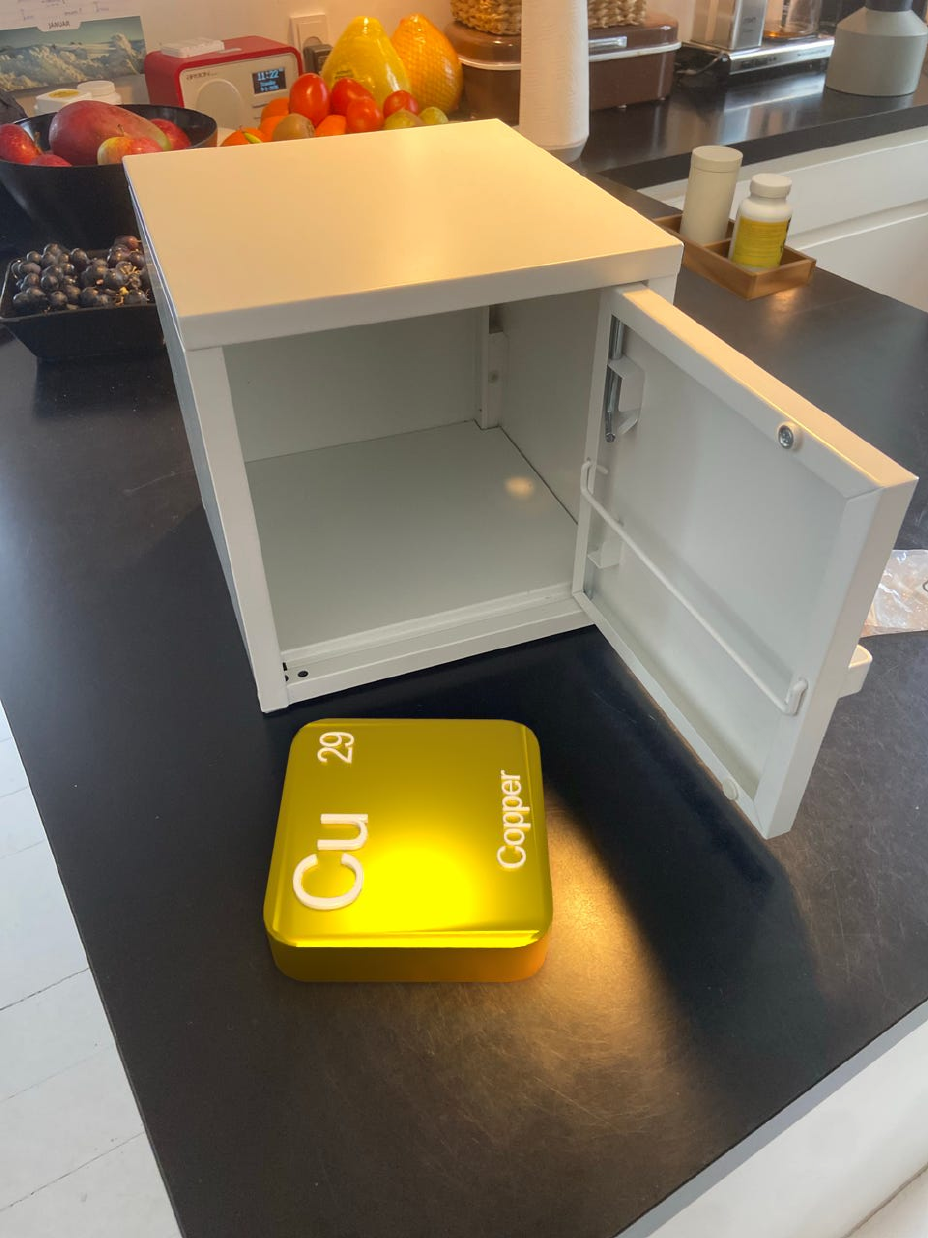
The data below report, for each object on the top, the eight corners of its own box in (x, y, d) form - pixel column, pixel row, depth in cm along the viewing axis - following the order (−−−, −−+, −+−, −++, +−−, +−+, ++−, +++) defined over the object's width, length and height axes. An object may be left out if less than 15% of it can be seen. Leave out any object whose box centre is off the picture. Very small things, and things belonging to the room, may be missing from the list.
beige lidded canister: (702, 237, 125) (720, 142, 117) (732, 253, 121) (753, 156, 113) (666, 245, 123) (682, 149, 115) (696, 261, 119) (715, 163, 111)
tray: (703, 233, 128) (708, 207, 125) (809, 287, 115) (817, 259, 113) (642, 246, 124) (646, 219, 122) (745, 304, 111) (752, 275, 109)
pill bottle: (775, 289, 113) (800, 191, 105) (722, 283, 114) (742, 185, 106) (776, 269, 118) (800, 173, 110) (725, 263, 119) (745, 168, 111)
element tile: (550, 985, 48) (558, 941, 45) (266, 985, 48) (254, 940, 45) (533, 760, 59) (538, 712, 56) (301, 759, 59) (293, 710, 56)
